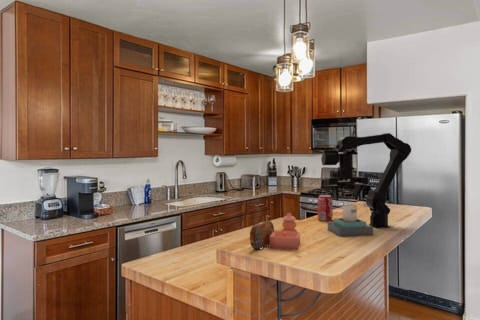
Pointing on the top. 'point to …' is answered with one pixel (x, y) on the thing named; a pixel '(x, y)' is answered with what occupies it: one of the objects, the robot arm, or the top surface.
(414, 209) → the top surface
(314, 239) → the top surface
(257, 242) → the brown rounded slab
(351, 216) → the grey rounded block
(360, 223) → the teal-collared square flange
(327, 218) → the soda can
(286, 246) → the pottery
